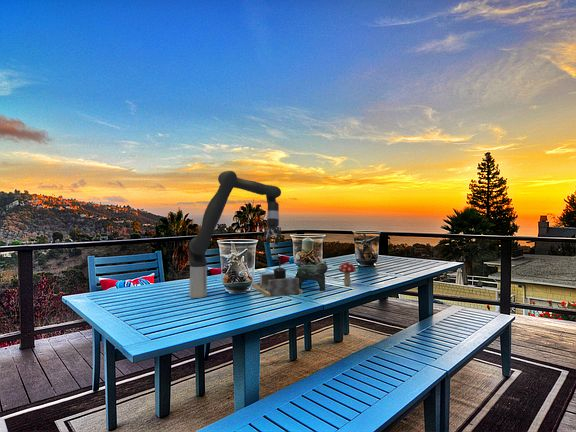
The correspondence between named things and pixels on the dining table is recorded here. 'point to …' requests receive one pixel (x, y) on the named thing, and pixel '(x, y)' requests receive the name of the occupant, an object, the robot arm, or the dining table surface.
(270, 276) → the sliding jaw
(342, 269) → the decorative mushroom
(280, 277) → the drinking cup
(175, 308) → the dining table surface
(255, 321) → the dining table surface
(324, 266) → the dark green legged piece
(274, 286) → the vise frame
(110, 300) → the dining table surface
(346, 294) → the dining table surface
